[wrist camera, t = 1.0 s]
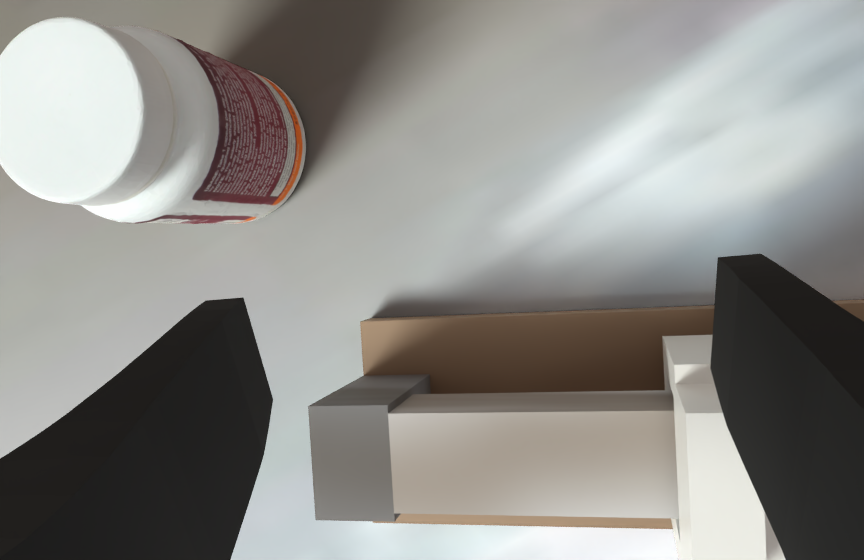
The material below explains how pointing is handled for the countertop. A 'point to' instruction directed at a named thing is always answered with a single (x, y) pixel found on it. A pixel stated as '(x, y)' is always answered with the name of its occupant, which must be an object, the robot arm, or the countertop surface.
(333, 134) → the countertop surface
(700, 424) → the sleeve
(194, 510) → the robot arm
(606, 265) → the countertop surface
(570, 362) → the pipe board
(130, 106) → the pill bottle
